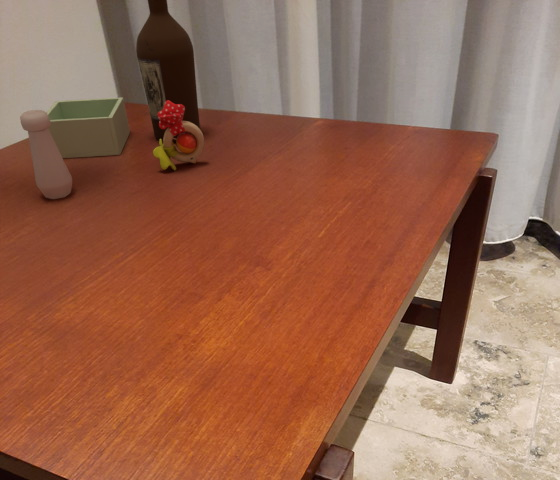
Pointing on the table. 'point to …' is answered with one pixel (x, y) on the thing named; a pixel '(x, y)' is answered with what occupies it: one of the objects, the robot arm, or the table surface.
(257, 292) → the table surface
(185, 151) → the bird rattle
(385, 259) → the table surface
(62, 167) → the salt shaker
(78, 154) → the bin
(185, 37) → the olive oil
